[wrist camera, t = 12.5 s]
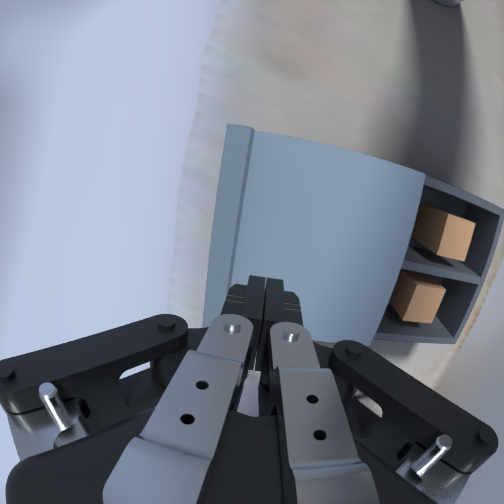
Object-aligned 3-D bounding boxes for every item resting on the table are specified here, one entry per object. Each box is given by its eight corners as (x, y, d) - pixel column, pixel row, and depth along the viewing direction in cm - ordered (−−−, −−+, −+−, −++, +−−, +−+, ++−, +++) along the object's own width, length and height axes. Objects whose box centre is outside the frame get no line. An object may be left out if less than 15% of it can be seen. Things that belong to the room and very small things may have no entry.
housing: (374, 164, 26) (403, 167, 19) (467, 197, 26) (505, 210, 19) (338, 299, 31) (352, 336, 24) (430, 312, 31) (454, 343, 24)
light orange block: (419, 202, 26) (448, 213, 20) (445, 210, 26) (475, 223, 20) (410, 236, 27) (436, 254, 22) (437, 243, 27) (464, 261, 21)
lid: (235, 129, 19) (227, 123, 16) (420, 172, 19) (442, 176, 15) (210, 316, 25) (201, 339, 21) (366, 340, 24) (376, 363, 21)
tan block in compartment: (394, 261, 28) (417, 284, 23) (421, 267, 28) (446, 289, 23) (384, 293, 30) (402, 320, 24) (410, 297, 30) (431, 323, 24)
